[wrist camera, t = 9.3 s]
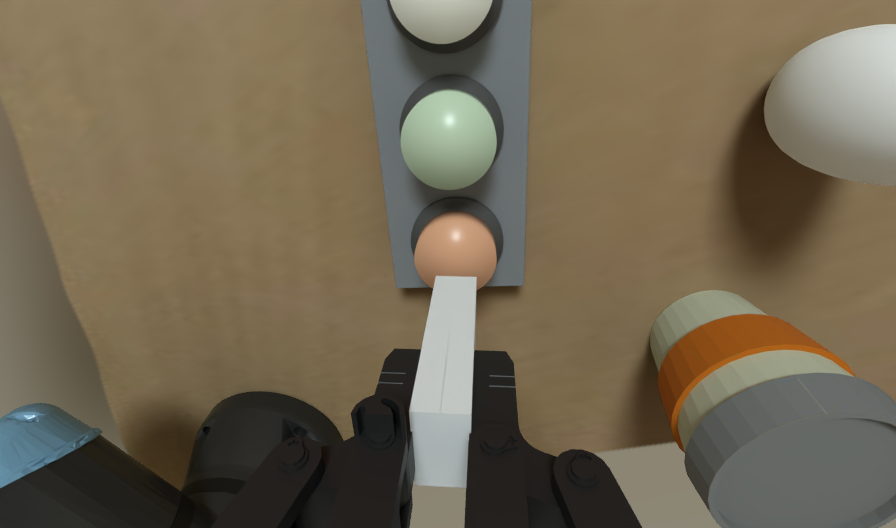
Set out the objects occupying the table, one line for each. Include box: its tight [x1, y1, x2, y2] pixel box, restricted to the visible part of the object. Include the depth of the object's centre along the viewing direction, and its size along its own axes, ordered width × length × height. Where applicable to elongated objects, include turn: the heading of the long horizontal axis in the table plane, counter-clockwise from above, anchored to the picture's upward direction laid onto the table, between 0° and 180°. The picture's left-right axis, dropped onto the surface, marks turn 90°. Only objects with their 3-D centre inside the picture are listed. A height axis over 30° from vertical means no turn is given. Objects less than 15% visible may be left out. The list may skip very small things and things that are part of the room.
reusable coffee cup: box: [650, 290, 896, 528], centre depth 33 cm, size 13×13×15 cm
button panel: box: [361, 0, 532, 288], centre depth 31 cm, size 10×24×4 cm, turn 3°
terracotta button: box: [414, 211, 497, 291], centre depth 31 cm, size 6×6×2 cm
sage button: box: [401, 88, 497, 190], centre depth 27 cm, size 6×6×2 cm
